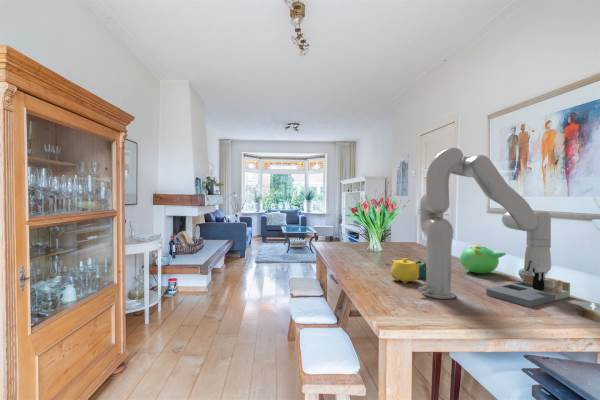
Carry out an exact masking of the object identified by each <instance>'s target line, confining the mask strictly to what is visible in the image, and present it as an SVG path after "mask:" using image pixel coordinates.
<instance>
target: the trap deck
mask: <svg viewBox="0 0 600 400" xmlns="http://www.w3.org/2000/svg"><path fill="white" fill-rule="evenodd" d="M561 281H562V294H555V295H552V294H548V293H545V292H541V291H539V290H535V289H533V279H532V276H530V275H528V274H524V280H522V281H519V282H513V283H510V284H509V283H508V284H503V285H499V286H495V287H489V288H486V289H485V290H486V291H485V293H486V294H485V295H486V296H489V297H492V298H496V299H499V300H503V301H506V302H508V303H514V304H517V305H520V306H524V307H527V308H532V307H533V308H534V307H536V306H539V305H543V304H547V303H548V304H549V303H551V302H554V301H559V300H562V299H563V300H564V299H566V298H570V297H571V283H570V282H567V281H563V280H561Z"/></svg>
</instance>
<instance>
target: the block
mask: <svg viewBox="0 0 600 400" xmlns="http://www.w3.org/2000/svg"><path fill="white" fill-rule="evenodd" d="M562 281H563V280H561V279H556V278H552V277H545V280H544V290H543V291H541V292H545V293H548V294H552V295H555V294H562Z"/></svg>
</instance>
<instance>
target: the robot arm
mask: <svg viewBox="0 0 600 400" xmlns="http://www.w3.org/2000/svg"><path fill="white" fill-rule="evenodd" d="M451 174H452V175H456V176H460V177H466V178H473V179H474V180H475V182H476V184H477V185H478V186H479V188H480V189H481V191H482V192H483V193H484V195H485V196H486V197H487V198H488V199H490V200H491V201H493V202H495V203H497V204H499V205H500V206H501V207H502V208H503V209H504V210H506V213H505V212H504V214H503V215H502V217H501V222H502V224H503V226H505V227H506V228H508V229H511V230H516V231H521V232H526V247H525V252H524V263H523V264H524V265H523V268H524V270H525V271H529V275H530V276H532V279H533V289H535V290H539V291H543V290H544V280H545V278H546V275H547V274H548V273H549V271H551V269H552V257H551V256H552V255H551V246H552V240H551V239H552V215H551V213H550V212H548V211H535V210H533V209H532V207H531V206H530V204H529V203H528V202H527V200H526V199H525V198H524V197H523V196H521V195H520V194H519V193H518V192H517V191H516V190H515V189H514V188H512V187H511V186H510V185H508V183H507V182H506V180H505V179H504V177H503V176H502V175H501V173H500V172H499V170H498V169H497V168H496V165H494V163H493V162H492V160H491V159H490V158H489V157H488V156H486V155H484V154H483V155H482V154H478V155H477V154H476V155H473V156H464V154H463V151H462V150H461V149H460V148H458V147H448V148H446V149H444V150H442V151H441V152H438V153H437V154H436V155H435V156H434V158H433V160H432V161H431V162H430V164H429V166H428V168H427V172H426V178H425V179H426V181H425V182H426V183H425V185H426V186H425V189H426V190H425V193H424V194H423V195H422V197H421V199H420V203H419V204H420V205H419V206H420V207H419V208H420V209H419V211H420V213H419V214H420V228H421V231H422V233H423V234H424V235H425V236H426V246H425V262H426V279H425V282H424V285H422V286H418V287H417V291H418V292H419V293H422V294H423V295H425V296H427V297H428V298H429V297H430V298H433V299H434V298H435V299H439V300H440V299H441V300H449V299H450V300H451V299H454V298H456V296H457V294H456V292H455V291H454V290H452V245H453V237H454V228H453V225H452V224H451V222H450V221H449V220H448V219H446V218H444V213H445V212H447V211H448V210H449V208H450V205H451V204H450V187H449V185H450V183H449V182H450V175H451Z"/></svg>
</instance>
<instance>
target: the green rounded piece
mask: <svg viewBox="0 0 600 400" xmlns="http://www.w3.org/2000/svg"><path fill="white" fill-rule="evenodd" d="M506 255H507V254H506V252H495V251H494V250H492V249H490V248H488V247H485V246H481V245H480V244H475V245H474V246H471V247H467V248H465V249H464V250H463V251H462V252H461V254H460V257H459V260H460V261H459V262H460V264H461V266H462V267H463V268H464V269H465V270H467V271H469V272H472V273H474V274H489V273H491V272H494V271H495V270H496V269H497V268H498V266H499V263H500V261H499V259H500V258H501V257H502V258H503V257H504V256H506Z"/></svg>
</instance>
